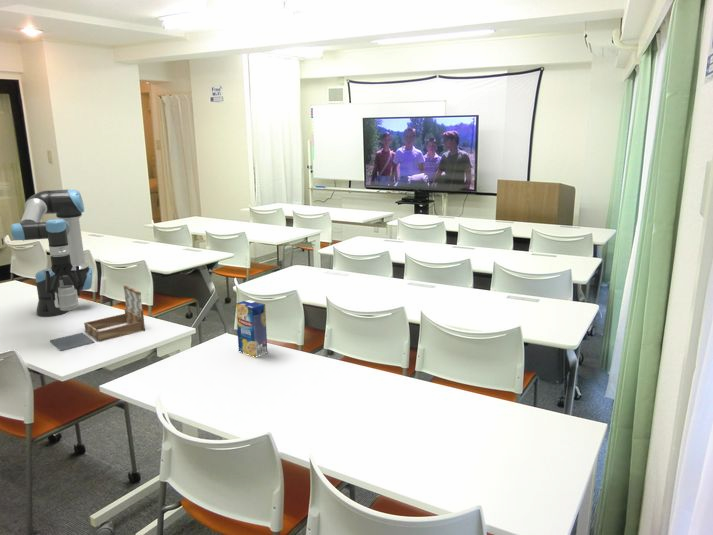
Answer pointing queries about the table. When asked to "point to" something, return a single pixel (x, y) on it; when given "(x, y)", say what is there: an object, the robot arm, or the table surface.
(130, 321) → the box
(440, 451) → the table surface
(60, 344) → the slate mat
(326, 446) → the table surface
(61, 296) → the mug
